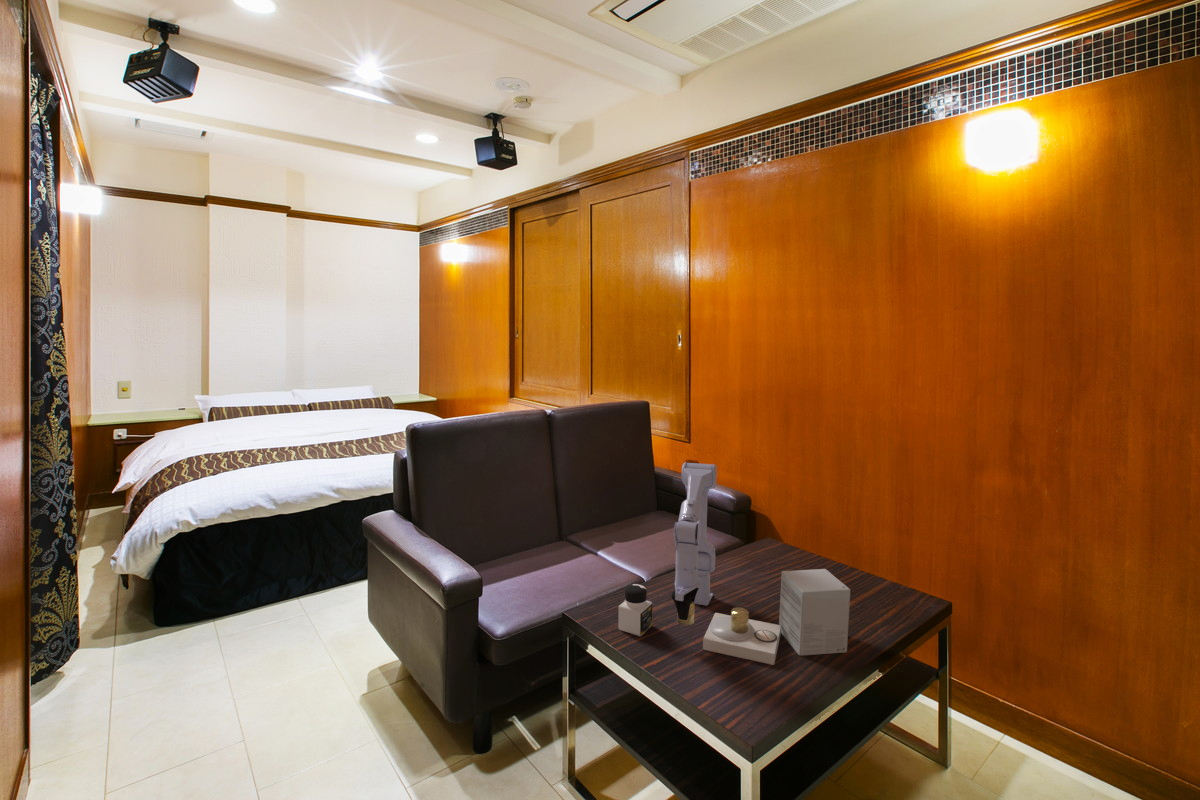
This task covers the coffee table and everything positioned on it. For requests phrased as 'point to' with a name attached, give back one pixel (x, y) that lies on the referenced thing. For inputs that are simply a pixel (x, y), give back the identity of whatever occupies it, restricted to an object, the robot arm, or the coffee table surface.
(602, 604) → the coffee table surface
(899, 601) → the coffee table surface
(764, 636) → the scale
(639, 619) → the medicine bottle
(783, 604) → the supplement box
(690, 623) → the cylinder
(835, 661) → the coffee table surface
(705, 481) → the robot arm
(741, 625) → the cylinder
